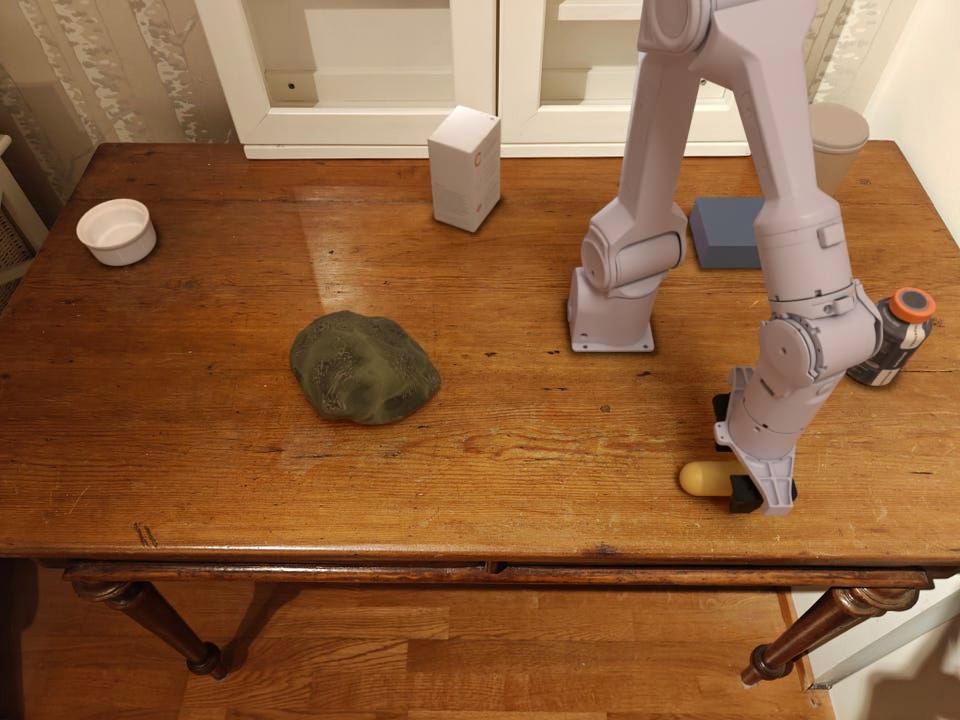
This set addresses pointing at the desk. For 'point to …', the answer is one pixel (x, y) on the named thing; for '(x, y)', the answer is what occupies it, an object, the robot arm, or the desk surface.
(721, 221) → the block
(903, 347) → the pill bottle
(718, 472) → the yellow capsule pill
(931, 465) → the desk surface
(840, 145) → the coffee cup
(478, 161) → the small box
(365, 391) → the decorative rock
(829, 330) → the robot arm
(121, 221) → the ramekin
